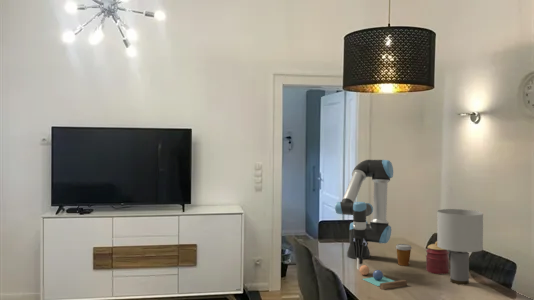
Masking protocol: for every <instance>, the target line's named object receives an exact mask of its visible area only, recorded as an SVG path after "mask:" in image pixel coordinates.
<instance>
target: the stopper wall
mask: <svg viewBox="0 0 534 300" xmlns="http://www.w3.org/2000/svg"><path fill="white" fill-rule="evenodd" d="M406 286H408V280H406V279H400V280H394V281H393V282H386V283H380V286H379V289H381V290H386V289H395V288H400V287H406Z"/></svg>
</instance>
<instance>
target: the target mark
mask: <svg viewBox="0 0 534 300" xmlns="http://www.w3.org/2000/svg"><path fill="white" fill-rule="evenodd" d="M362 280H363V281H365V282H368V283H369V284H372V285H374V286H377V287H380V283H386V282H393V281H395V280H394V279H391V278H389V277H386V276H384V275H383V278H382V279H381V280H375V279H374V277H373V276H371V277H367V278H362Z"/></svg>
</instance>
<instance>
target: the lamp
mask: <svg viewBox="0 0 534 300" xmlns="http://www.w3.org/2000/svg"><path fill="white" fill-rule="evenodd" d="M436 211H437V212H436V213H437V217H436V218H437V219H436V221H437V225H436V226H437V233H436V235H437V240H436V242H437V246H438V247H439V248H442V249H446V250H448V251H450V260H449V273H450V278H449V281H450V283H452V284H454V285H461V286H464V285H465V286H466V285H469V284H470V279H469V277H470V253H474V252H475V253H477V252H481V251H483V250H484V246H483V245H484V212H482V211H478V210H472V209H461V208H460V209H459V208H458V209H457V208H444V209H438V210H436Z"/></svg>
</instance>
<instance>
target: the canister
mask: <svg viewBox="0 0 534 300" xmlns="http://www.w3.org/2000/svg"><path fill="white" fill-rule="evenodd" d="M425 252H426V255H425V260H426V261H425V263H426V264H425V271H426V272H428V273H430V274H435V275H446V274H447V275H448V274H449V273H450V257H449V254H450V250H446V249H442V248H439V247H438V246H437V241H435V242H434V243H431V244H429V245H427V248H426V250H425Z"/></svg>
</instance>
